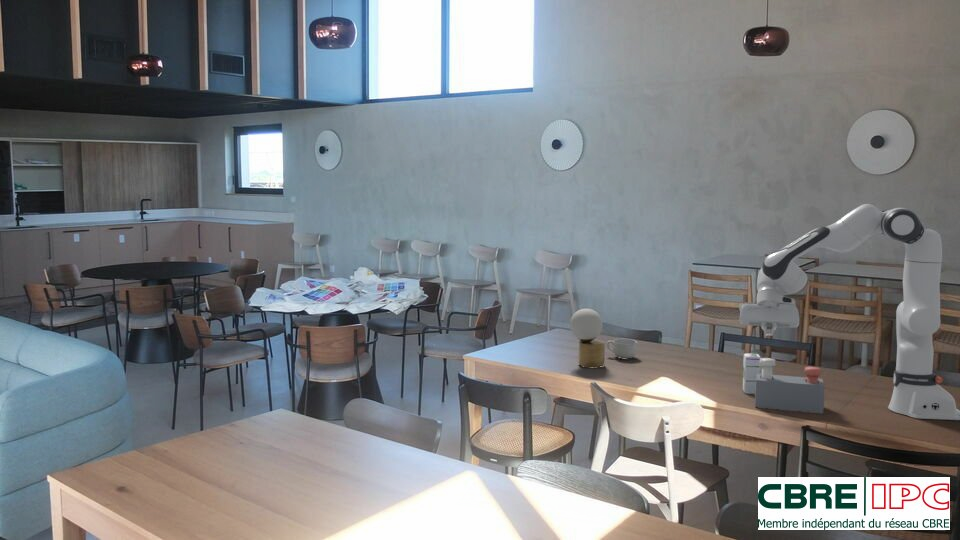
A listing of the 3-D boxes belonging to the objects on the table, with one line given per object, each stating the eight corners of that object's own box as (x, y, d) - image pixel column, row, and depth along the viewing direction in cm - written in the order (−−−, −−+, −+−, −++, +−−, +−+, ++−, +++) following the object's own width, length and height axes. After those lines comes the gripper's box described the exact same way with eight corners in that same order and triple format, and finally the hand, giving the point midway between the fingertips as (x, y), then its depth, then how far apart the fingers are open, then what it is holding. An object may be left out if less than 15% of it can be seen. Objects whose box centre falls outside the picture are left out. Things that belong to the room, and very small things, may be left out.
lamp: (566, 367, 329) (567, 310, 326) (572, 360, 342) (573, 305, 339) (601, 370, 325) (603, 312, 322) (606, 362, 338) (607, 307, 335)
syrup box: (760, 394, 287) (761, 356, 285) (743, 393, 288) (745, 356, 286) (757, 390, 292) (759, 353, 291) (741, 389, 294) (743, 352, 292)
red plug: (818, 405, 270) (820, 367, 269) (819, 410, 265) (821, 370, 264) (802, 404, 272) (804, 366, 270) (803, 408, 267) (805, 369, 265)
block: (820, 405, 272) (822, 378, 271) (823, 413, 263) (824, 385, 262) (754, 400, 279) (756, 373, 278) (755, 407, 270) (756, 380, 269)
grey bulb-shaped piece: (773, 396, 275) (775, 358, 273) (773, 400, 270) (775, 361, 268) (758, 395, 277) (759, 357, 275) (758, 398, 272) (759, 360, 270)
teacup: (640, 357, 349) (640, 340, 348) (631, 361, 340) (631, 344, 339) (611, 353, 356) (612, 336, 356) (602, 357, 347) (602, 340, 346)
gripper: (739, 297, 279) (738, 327, 271) (799, 299, 272) (800, 331, 264) (739, 307, 284) (737, 337, 276) (798, 309, 277) (798, 341, 269)
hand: (768, 334), depth 270 cm, fingers closed
